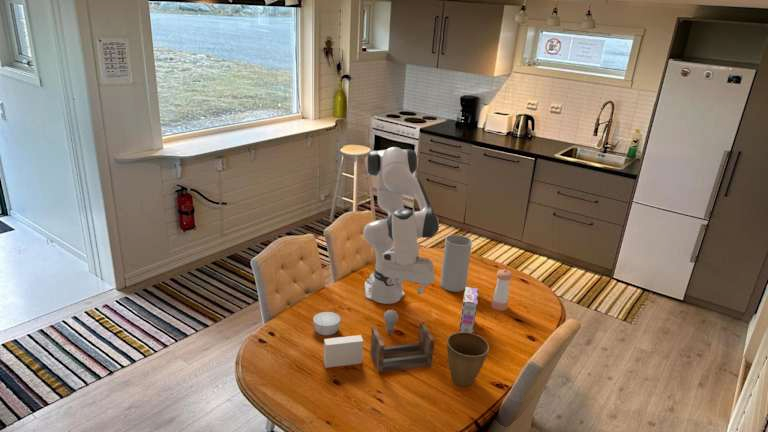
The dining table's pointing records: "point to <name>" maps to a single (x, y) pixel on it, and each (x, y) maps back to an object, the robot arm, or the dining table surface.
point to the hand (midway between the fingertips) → (409, 291)
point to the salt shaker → (501, 290)
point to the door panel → (343, 351)
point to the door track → (402, 352)
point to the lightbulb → (390, 320)
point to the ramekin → (326, 323)
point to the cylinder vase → (455, 262)
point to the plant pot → (466, 356)
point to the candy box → (469, 309)
